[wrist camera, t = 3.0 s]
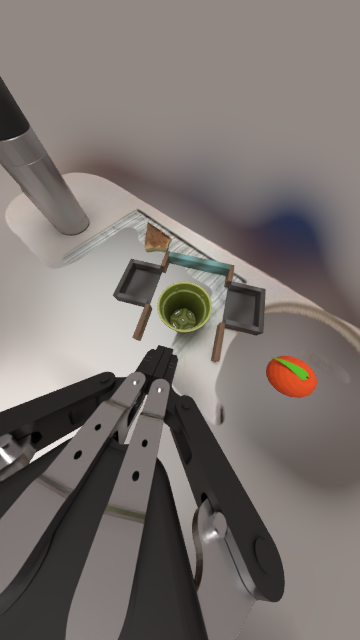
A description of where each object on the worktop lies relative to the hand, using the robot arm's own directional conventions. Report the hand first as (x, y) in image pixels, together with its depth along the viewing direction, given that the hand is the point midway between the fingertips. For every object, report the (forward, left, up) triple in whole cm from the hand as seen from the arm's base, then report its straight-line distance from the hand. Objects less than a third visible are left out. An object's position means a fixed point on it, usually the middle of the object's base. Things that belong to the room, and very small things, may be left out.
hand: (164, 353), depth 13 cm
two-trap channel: (0, +14, -15) cm, 21 cm away
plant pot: (0, +9, -16) cm, 18 cm away
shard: (-15, +31, -16) cm, 38 cm away
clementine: (+21, +3, -16) cm, 26 cm away
